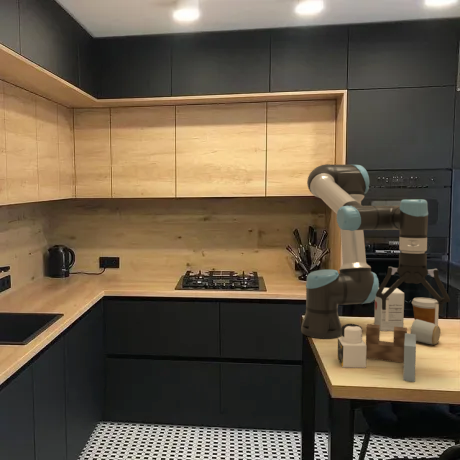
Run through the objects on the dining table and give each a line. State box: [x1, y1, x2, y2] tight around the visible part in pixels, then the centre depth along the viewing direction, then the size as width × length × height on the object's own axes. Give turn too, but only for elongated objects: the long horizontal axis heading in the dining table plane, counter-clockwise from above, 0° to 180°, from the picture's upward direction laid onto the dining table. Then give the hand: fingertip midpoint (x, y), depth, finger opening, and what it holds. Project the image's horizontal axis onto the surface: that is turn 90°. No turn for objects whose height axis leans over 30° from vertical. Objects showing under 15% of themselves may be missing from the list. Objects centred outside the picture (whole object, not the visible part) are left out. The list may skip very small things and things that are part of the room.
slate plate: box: [402, 332, 417, 383], centre depth 130 cm, size 3×12×10 cm, turn 158°
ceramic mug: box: [409, 319, 441, 346], centre depth 158 cm, size 11×8×8 cm
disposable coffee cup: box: [411, 297, 438, 324], centre depth 170 cm, size 10×10×12 cm
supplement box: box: [373, 287, 405, 332], centre depth 175 cm, size 9×9×15 cm
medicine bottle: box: [337, 323, 367, 369], centre depth 138 cm, size 7×7×12 cm
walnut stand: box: [365, 323, 408, 364], centre depth 142 cm, size 12×4×10 cm, turn 68°
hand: (411, 322), depth 133 cm, fingers open, 13 cm apart
